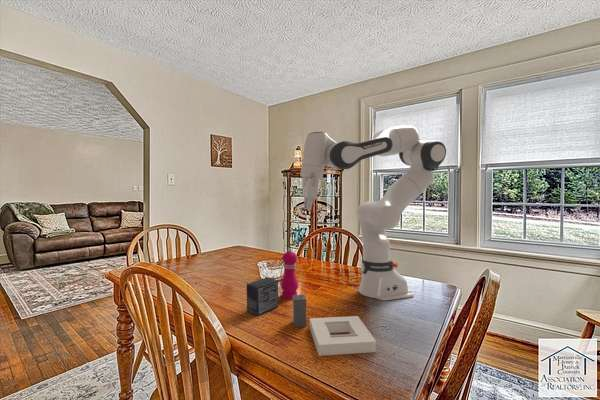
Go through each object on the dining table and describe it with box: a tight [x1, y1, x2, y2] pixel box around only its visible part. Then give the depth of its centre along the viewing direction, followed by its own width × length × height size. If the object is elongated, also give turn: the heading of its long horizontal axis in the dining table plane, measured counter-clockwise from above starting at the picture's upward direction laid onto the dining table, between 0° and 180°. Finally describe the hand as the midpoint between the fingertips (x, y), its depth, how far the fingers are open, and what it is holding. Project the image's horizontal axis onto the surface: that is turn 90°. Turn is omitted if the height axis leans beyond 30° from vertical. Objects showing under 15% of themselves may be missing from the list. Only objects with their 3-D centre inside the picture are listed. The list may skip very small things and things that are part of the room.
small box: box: [246, 277, 279, 317], centre depth 109 cm, size 11×6×10 cm, turn 141°
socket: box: [309, 315, 377, 357], centre depth 88 cm, size 16×16×3 cm
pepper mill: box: [280, 247, 299, 300], centre depth 122 cm, size 7×7×20 cm
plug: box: [292, 294, 307, 328], centre depth 98 cm, size 4×4×9 cm
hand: (307, 208), depth 117 cm, fingers open, 8 cm apart
